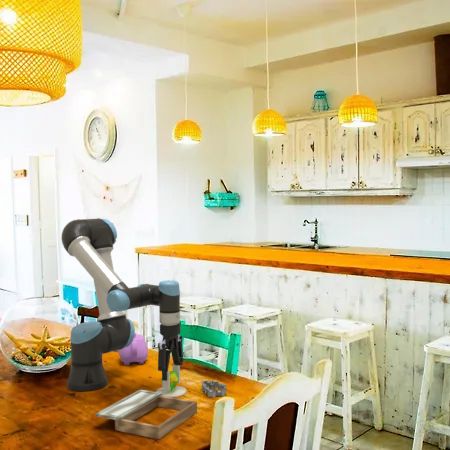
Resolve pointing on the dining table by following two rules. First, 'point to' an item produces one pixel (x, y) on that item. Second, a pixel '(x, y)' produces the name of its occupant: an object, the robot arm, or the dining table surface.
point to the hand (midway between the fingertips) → (171, 385)
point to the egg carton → (213, 388)
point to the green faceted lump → (173, 380)
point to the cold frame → (142, 404)
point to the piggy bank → (135, 351)
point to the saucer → (174, 393)
